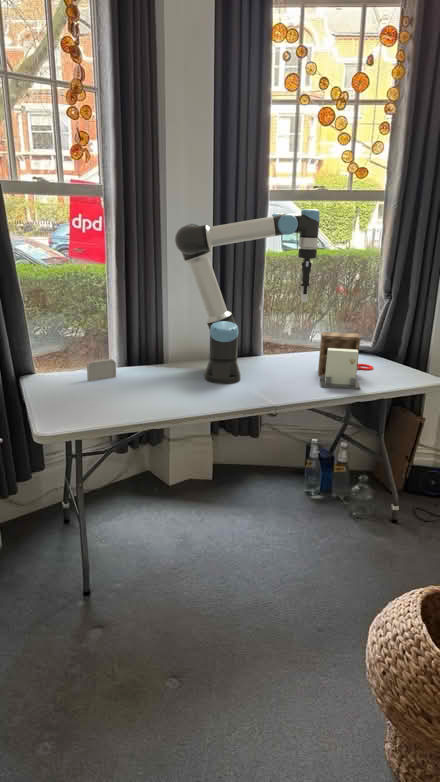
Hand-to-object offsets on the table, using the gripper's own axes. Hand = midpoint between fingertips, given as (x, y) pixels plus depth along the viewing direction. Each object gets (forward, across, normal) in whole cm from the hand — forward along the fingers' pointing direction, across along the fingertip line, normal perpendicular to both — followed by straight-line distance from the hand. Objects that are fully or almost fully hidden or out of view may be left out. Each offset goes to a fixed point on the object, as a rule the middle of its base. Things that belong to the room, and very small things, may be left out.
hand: (303, 299), depth 243 cm
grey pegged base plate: (+33, -14, -17) cm, 39 cm away
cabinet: (+33, +2, -17) cm, 37 cm away
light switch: (+33, -27, +81) cm, 92 cm away
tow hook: (+33, +16, -30) cm, 47 cm away
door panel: (+32, -14, -17) cm, 39 cm away
